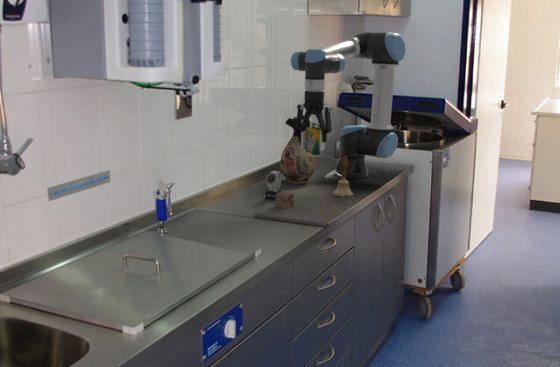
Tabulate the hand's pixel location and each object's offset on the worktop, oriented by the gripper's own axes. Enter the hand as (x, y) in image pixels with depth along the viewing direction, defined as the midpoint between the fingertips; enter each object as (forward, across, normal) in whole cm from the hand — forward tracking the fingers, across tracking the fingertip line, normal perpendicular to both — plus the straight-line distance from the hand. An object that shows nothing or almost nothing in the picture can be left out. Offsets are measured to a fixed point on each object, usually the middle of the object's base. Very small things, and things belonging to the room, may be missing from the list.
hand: (312, 149), depth 258 cm
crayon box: (+2, 0, 0) cm, 2 cm away
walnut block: (+20, -3, -16) cm, 26 cm away
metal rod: (+20, +9, -31) cm, 39 cm away
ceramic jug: (+21, -18, +22) cm, 35 cm away
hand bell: (+21, +7, +14) cm, 26 cm away
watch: (+20, -12, -8) cm, 25 cm away
